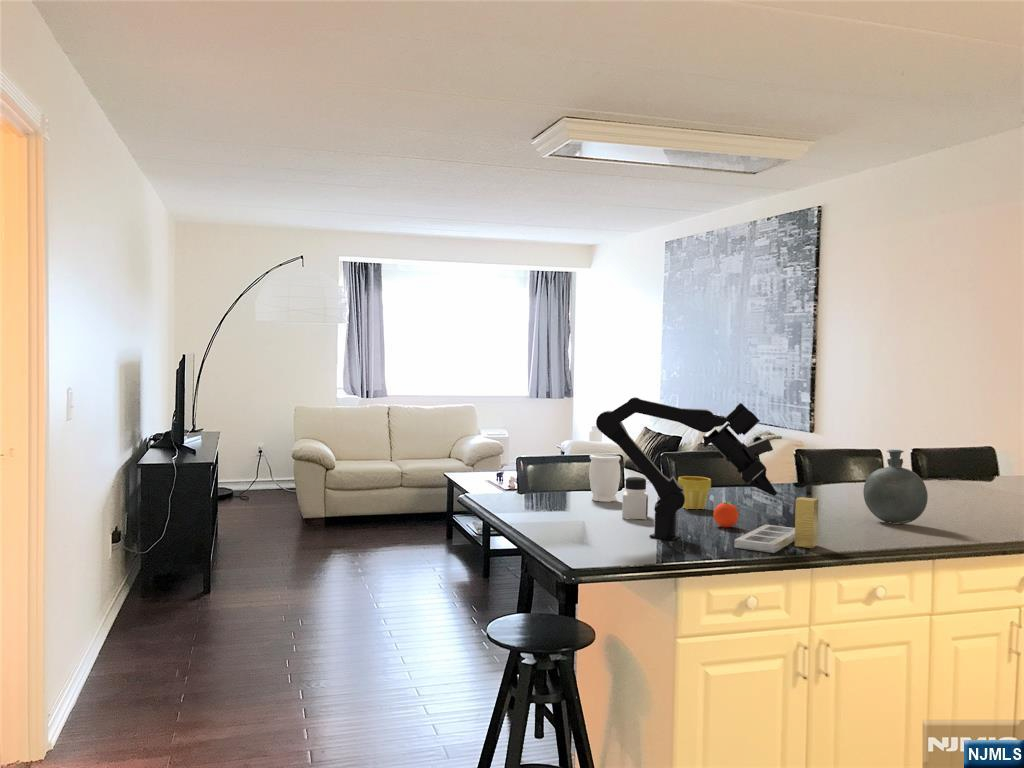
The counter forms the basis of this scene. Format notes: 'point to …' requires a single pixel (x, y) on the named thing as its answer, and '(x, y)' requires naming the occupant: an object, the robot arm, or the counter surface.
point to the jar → (604, 477)
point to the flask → (895, 492)
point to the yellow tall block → (806, 522)
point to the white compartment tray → (766, 538)
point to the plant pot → (695, 491)
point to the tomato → (726, 514)
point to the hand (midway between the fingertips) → (773, 492)
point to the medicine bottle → (635, 499)
